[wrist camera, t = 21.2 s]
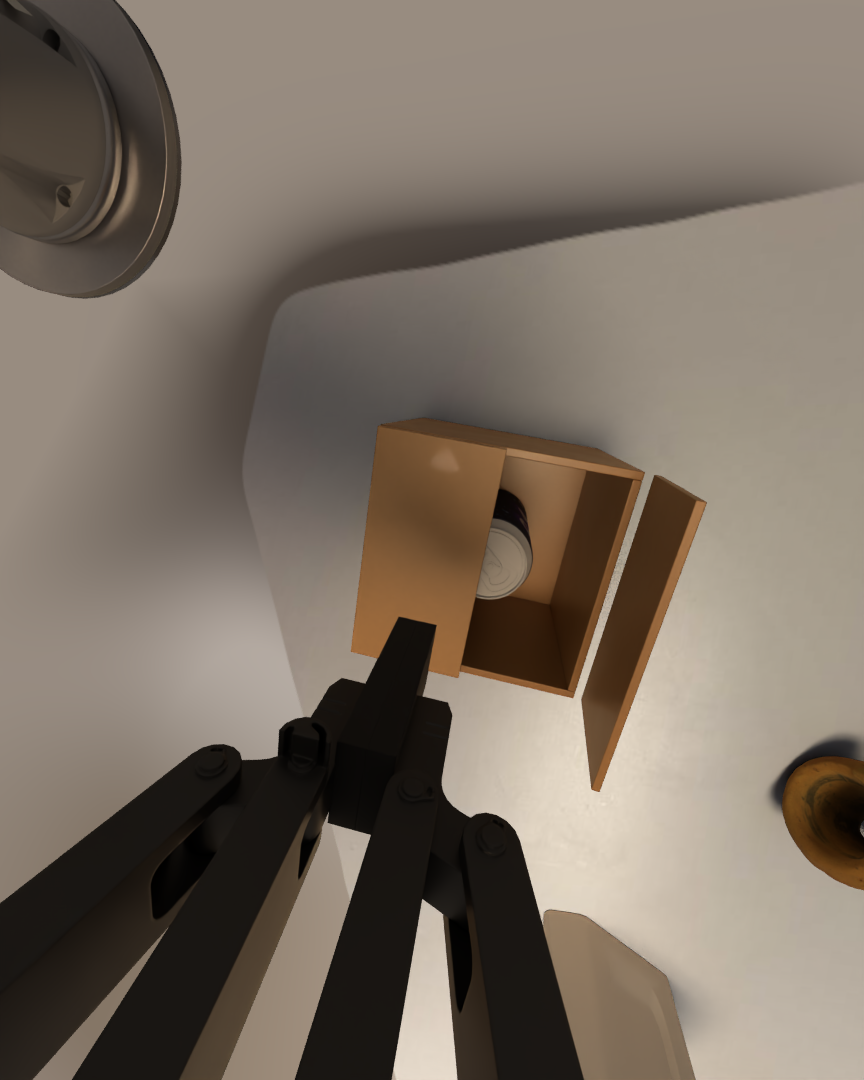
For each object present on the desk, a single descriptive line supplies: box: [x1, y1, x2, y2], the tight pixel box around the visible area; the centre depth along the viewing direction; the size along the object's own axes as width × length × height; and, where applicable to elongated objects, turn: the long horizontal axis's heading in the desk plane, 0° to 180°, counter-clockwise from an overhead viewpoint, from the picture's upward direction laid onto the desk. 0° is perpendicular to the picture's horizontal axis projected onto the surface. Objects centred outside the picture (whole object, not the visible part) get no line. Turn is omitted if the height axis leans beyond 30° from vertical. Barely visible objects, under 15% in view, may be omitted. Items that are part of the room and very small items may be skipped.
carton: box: [381, 418, 707, 792], centre depth 30 cm, size 16×15×21 cm
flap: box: [351, 426, 507, 678], centre depth 27 cm, size 7×15×1 cm, turn 170°
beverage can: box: [476, 489, 533, 599], centre depth 34 cm, size 6×6×12 cm
